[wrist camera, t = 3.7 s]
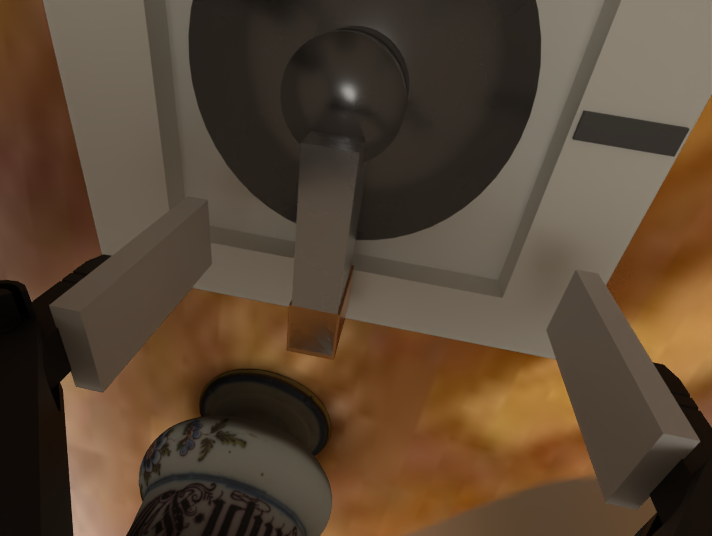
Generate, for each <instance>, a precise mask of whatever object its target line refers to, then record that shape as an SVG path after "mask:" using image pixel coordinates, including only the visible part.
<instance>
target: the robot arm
mask: <svg viewBox="0 0 712 536" xmlns="http://www.w3.org/2000/svg"><path fill="white" fill-rule="evenodd" d="M211 265H212V256H211V240H210V224H209V208H208V200H205V199H200V198H195V197H189V196H187V197H186V198H185V199H183V200H182V201H181V202H180V203H178V204H177V205H176V206H175V207H173V208H172V209H171V210H169V211H168V212H167V213H166V214H164V215H163V216H162V217H161V218H159V219H158V220H157V221H155V222H154V223H153V224H152V225H150V226H149V227H148V228H147V229H145V230H144V231H143V232H141V233H140V234H139V235H138V236H136V237H135V238H134V239H133V240H131V241H130V242H129V243H128V244H126V245H125V246H124V247H122V248H121V249H120V250H119V251H117V252H116V253H115V254H114V255H112V256H110V255H105V254H103V255H101V256H98V257H96V258H94V259H91V260H89V261H86V262H85V263H84V264H82V265H81V266H80V267H78V268H77V269H76V270H74V271H73V273H70V274H69V275H67V276H66V277H65V278H63V280H62V282H61V281H59V282H58V283H57V284H55V285H54V286H53V287H51V288H50V289H49V290H47V291H46V292H45V293H43V294H42V295H41V296H39V297H38V298H37V299H35V300H34V301H33V302H31V299H30V297H29V294H28V291H27V289H26V287H25V285H24V284H22V283H20V282H18V281H10V280H1V281H0V536H73V523H72V510H71V496H70V482H69V468H68V454H67V440H66V426H65V412H64V398H63V389H62V386H61V384H60V381H61V380H62V379H63V378H64V377H65V376H66V375H67V374H68V373H69V372H70V371H71V373H72V376H73V379H74V383H75V386H76V387H80V388H84V389H89V390H94V391H98V392H104V391H105V390H106V389H107V387H108V386H109V385H110V384H111V383H112V381H113V380H114V379H115V378H116V377H117V376H118V374H119V373H120V372H121V371H122V370H123V368H124V367H125V366H126V365H127V364H128V363H129V361H130V360H131V359H132V358H133V357H134V355H135V354H136V353H137V352H138V351H139V350H140V348H141V347H142V346H143V345H144V344H145V342H146V341H147V340H148V339H149V338H150V337H151V335H152V334H153V333H154V332H155V331H156V330H157V328H158V327H159V326H160V325H161V324H162V322H163V321H164V320H165V319H166V318H167V317H168V315H169V314H170V313H171V312H172V311H173V309H174V308H175V307H176V306H177V305H178V304H179V302H180V301H181V300H182V299H183V298H184V296H185V295H186V294H187V293H188V292H189V291H190V289H191V288H192V287H193V286H194V285H195V284H196V282H197V281H198V280H199V279H200V278H201V276H202V275H203V274H204V273H205V272H206V271H207V269H208V268H209V267H210V266H211ZM546 331H547V334H548V337H549V340H550V343H551V346H552V349H553V352H554V355H555V357H556V360H557V363H558V366H559V369H560V372H561V375H562V378H563V381H564V384H565V387H566V389H567V392H568V395H569V398H570V401H571V404H572V407H573V410H574V413H575V416H576V418H577V421H578V424H579V427H580V430H581V433H582V436H583V439H584V442H585V445H586V448H587V450H588V453H589V456H590V459H591V462H592V465H593V468H594V471H595V474H596V477H597V479H598V482H599V485H600V488H601V491H602V494H603V497H604V500H605V503H608V504H612V505H617V506H622V507H626V508H630V509H635V510H638V508H640V506H641V505H642V504H643V503H644V502H645V501H646V500H647V499H648V498H649V497H651V499H652V502H653V504H654V506H655V508H656V511H657V513H656V514H655V515H654V516H653V517H652V518H651V519H650V520H649V521H648V522H647V523H646V524H645V525H644V526H643V527H642V528H641V529H640V530H639V531H638V532H637V533H636V534H635V536H712V428H711V426H710V425H709V423H708V422H707V420H706V419H705V417H704V416H703V414H702V413H701V411H698V406H697V405H696V403H695V402H694V400H693V399H692V398H690V394H689V393H688V391H687V390H686V388H685V387H684V385H683V384H682V382H681V380H680V379H679V378H678V377H677V376H675V375H674V374H673V373H672V372H671V371H670V370H669V369H668V368H667V367H666V366H665V365H663V364H658V363H653V362H652V361H651V359H650V357H649V356H648V354H647V352H646V351H645V349H644V348H643V346H642V344H641V343H640V341H639V339H638V338H637V336H636V334H635V333H634V331H633V329H632V328H631V326H630V325H629V323H628V321H627V320H626V318H625V316H624V315H623V313H622V311H621V310H620V308H619V307H618V305H617V303H616V302H615V300H614V298H613V297H612V295H611V293H610V292H609V290H608V288H607V287H606V285H605V284H604V282H603V280H602V279H601V277H600V275H599V274H598V273H593V272H587V271H582V270H577V269H576V270H575V272H574V274H573V276H572V278H571V280H570V282H569V284H568V286H567V288H566V290H565V292H564V294H563V296H562V298H561V301H560V303H559V305H558V307H557V309H556V311H555V313H554V315H553V317H552V319H551V321H550V323H549V325H548V327H547V329H546Z"/></svg>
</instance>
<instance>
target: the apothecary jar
mask: <svg viewBox="0 0 712 536" xmlns="http://www.w3.org/2000/svg"><path fill="white" fill-rule="evenodd" d="M200 414H201V417H198V418H194V419H190V420H186V421H183V422H181V423H178V424H176V425H174V426H172V427H170V428H169V429H167V430H166V431H165V432H163V433H162V434H161V435H160V436H159V437H158V438H157V439H156V440H155V441H154V442H153V443H152V445H151V446H150V447H149V449H148V450H147V452H146V454H145V456H144V458H143V460H142V463H141V466H140V472H139V487H140V494H141V498H142V501H143V502H142V505H141V507H140V509H139V511H138V513H137V515H136V517H135V520H134V522H133V524H132V526H131V528H130V530H129V532H128V533H127V535H126V536H320V535H321V533H322V532H323V531H324V529H325V527H326V525H327V523H328V520H329V518H330V514H331V510H332V494H331V488H330V484H329V481H328V478H327V476H326V474H325V472H324V470H323V469H322V467H321V465H320V464H319V462H318V461H317V460H316V458H315V457H314V456H315V455H316V454H318V453H319V452H320V451H321V450H322V449H323V448H324V447H325V446H326V444H327V442H328V440H329V438H330V432H331V424H330V419H329V416H328V413H327V411H326V409H325V407H324V406H323V404H322V403H321V402H320V401H319V399H318V398H317V397H316V396H315V395H314V394H313V393H311V392H310V391H309V390H308V389H306V388H305V387H303V386H302V385H300V384H298V383H297V382H295V381H293V380H291V379H288V378H286V377H284V376H281V375H278V374H275V373H271V372H267V371H262V370H236V371H231V372H227V373H224V374H222V375H220V376H218V377H216V378H214V379H213V380H211V381H210V382H209V383H208V384H207V385H206V386H205V388H204V390H203V392H202V394H201V397H200Z"/></svg>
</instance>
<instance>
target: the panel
mask: <svg viewBox="0 0 712 536" xmlns="http://www.w3.org/2000/svg"><path fill="white" fill-rule="evenodd" d="M192 1H193V0H43V3H44V8H45V12H46V16H47V21H48V25H49V29H50V34H51V38H52V42H53V46H54V51H55V55H56V59H57V64H58V68H59V72H60V77H61V81H62V85H63V89H64V94H65V98H66V102H67V107H68V111H69V115H70V120H71V124H72V128H73V132H74V137H75V141H76V145H77V150H78V154H79V158H80V162H81V167H82V171H83V175H84V180H85V184H86V188H87V193H88V197H89V201H90V205H91V210H92V214H93V218H94V223H95V227H96V231H97V236H98V240H99V244H100V248H101V253H102V255H103V254H105V255H110V256H112V255H114V254H115V253H116V252H117V251H119V250H120V249H121V248H122V247H124V246H125V245H126V244H128V243H129V242H130V241H131V240H133V239H134V238H135V237H136V236H138V235H139V234H140V233H141V232H143V231H144V230H145V229H147V228H148V227H149V226H150V225H152V224H153V223H154V222H155V221H157V220H158V219H159V218H161V217H162V216H163V215H164V214H166V213H167V212H168V211H169V210H171V209H172V208H173V207H175V206H176V205H177V204H178V203H180V202H181V201H182V200H183V199H185V198H186V197H187V196H189V197H195V198H200V199H205V200H208V208H209V224H210V240H211V256H212V265H211V266H210V267H209V268H208V269H207V271H206V272H205V273H204V274H203V275H202V276H201V278H200V279H199V280H198V281H197V282H196V284H195V285H194V286H193V287H192V288H195V289H200V290H205V291H210V292H215V293H220V294H226V295H231V296H236V297H241V298H246V299H251V300H256V301H261V302H266V303H271V304H276V305H282V306H287V307H289V304H290V302H291V300H292V289H293V272H294V255H295V238H296V223H294V222H292V221H290V220H288V219H286V218H284V217H283V216H281V215H280V214H278V213H276V212H275V211H273V210H272V209H270V208H269V207H268V206H266V205H265V204H264V203H263V202H261V201H260V200H259V199H258V198H257V197H255V196H254V195H253V194H252V193H251V192H250V191H249V190H248V189H247V188H246V187H245V186H244V185H243V184H242V183H241V182H240V181H239V179H238V178H237V177H236V176H235V174H234V173H233V172H232V171H231V169H230V168H229V167H228V166H227V164H226V163H225V161H224V160H223V158H222V156H221V155H220V153H219V152H218V150H217V149H216V147H215V145H214V143H213V141H212V139H211V137H210V135H209V133H208V131H207V129H206V127H205V124H204V121H203V119H202V116H201V113H200V110H199V108H198V105H197V101H196V97H195V92H194V88H193V84H192V78H191V71H190V63H189V39H188V33H189V23H190V12H191V6H192ZM536 3H537V7H538V13H539V22H540V31H541V66H540V73H539V80H538V87H537V93H536V96H535V100H534V103H533V107H532V111H531V114H530V117H529V120H528V122H527V125H526V127H525V129H524V132H523V134H522V137H521V139H520V141H519V143H518V144H517V146H516V148H515V150H514V152H513V153H512V155H511V157H510V159H509V160H508V162H507V163H506V164H505V166H504V167H503V169H502V170H501V171H500V173H499V174H498V175H497V177H496V178H495V179H494V180H493V181H492V182H491V183H490V184H489V186H488V187H487V188H486V189H485V190H484V191H483V192H482V193H481V194H480V195H479V196H478V197H476V198H475V199H474V200H473V201H472V202H471V203H469V204H468V205H467V206H466V207H465V208H463V209H462V210H460V211H458V212H457V213H455V214H454V215H452V216H451V217H449V218H448V219H446V220H444V221H442V222H440V223H438V224H436V225H434V226H432V227H430V228H427V229H424V230H421V231H419V232H416V233H413V234H409V235H405V236H401V237H396V238H390V239H381V240H356V242H355V249H354V256H353V263H352V265H354V271H353V278H352V284H351V291H350V297H349V304H348V309H347V313H346V317H345V318H348V319H353V320H358V321H363V322H368V323H373V324H378V325H383V326H388V327H394V328H399V329H404V330H409V331H414V332H419V333H424V334H429V335H434V336H439V337H444V338H450V339H455V340H460V341H465V342H470V343H475V344H480V345H485V346H490V347H495V348H500V349H506V350H511V351H516V352H521V353H526V354H531V355H536V356H541V357H546V358H551V359H556V357H555V355H554V352H553V349H552V346H551V343H550V340H549V337H548V334H547V331H546V329H547V327H548V325H549V323H550V321H551V319H552V317H553V315H554V313H555V311H556V309H557V307H558V305H559V303H560V301H561V298H562V296H563V294H564V292H565V290H566V288H567V286H568V284H569V282H570V280H571V278H572V276H573V274H574V272H575V270H576V269H577V270H582V271H587V272H593V273H598V274H599V275H600V277H601V279H602V280H603V282H604V284H605V285H606V284H607V282H608V280H609V279H610V277H611V275H612V273H613V271H614V270H615V268H616V266H617V264H618V262H619V261H620V259H621V257H622V255H623V253H624V252H625V250H626V248H627V246H628V244H629V243H630V241H631V239H632V237H633V235H634V234H635V232H636V230H637V228H638V226H639V224H640V223H641V221H642V219H643V217H644V215H645V214H646V212H647V210H648V208H649V206H650V205H651V203H652V201H653V199H654V197H655V196H656V194H657V192H658V190H659V188H660V187H661V185H662V183H663V181H664V179H665V178H666V176H667V174H668V172H669V170H670V169H671V167H672V165H673V163H674V161H675V160H676V158H677V156H678V154H679V152H680V150H681V149H682V147H683V145H684V143H685V141H686V140H687V138H688V136H689V134H690V132H691V131H692V129H693V127H694V125H695V123H696V122H697V120H698V118H699V116H700V114H701V113H702V111H703V109H704V107H705V105H706V104H707V102H708V100H709V98H710V96H711V95H712V0H536Z"/></svg>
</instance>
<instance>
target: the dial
mask: <svg viewBox="0 0 712 536" xmlns="http://www.w3.org/2000/svg"><path fill="white" fill-rule="evenodd" d="M188 39H189V63H190V71H191V78H192V84H193V88H194V92H195V97H196V101H197V105H198V108H199V110H200V113H201V116H202V119H203V121H204V124H205V127H206V129H207V131H208V133H209V135H210V137H211V139H212V141H213V143H214V145H215V147H216V149H217V150H218V152H219V153H220V155H221V156H222V158H223V160H224V161H225V163H226V164H227V166H228V167H229V168H230V169H231V171H232V172H233V173H234V174H235V176H236V177H237V178H238V179H239V181H240V182H241V183H242V184H243V185H244V186H245V187H246V188H247V189H248V190H249V191H250V192H251V193H252V194H253V195H254V196H255V197H257V198H258V199H259V200H260V201H261V202H263V203H264V204H265V205H266V206H268V207H269V208H270V209H272V210H273V211H275V212H276V213H278V214H280V215H281V216H283V217H284V218H286V219H288V220H290V221H292V222H294V223H296V238H295V255H294V272H293V289H292V300H291V302H290V304H289V315H288V333H287V351H292V352H297V353H302V354H307V355H312V356H317V357H322V358H327V359H332V360H334V358H335V354H336V350H337V347H338V343H339V339H340V335H341V332H342V328H343V324H344V320H345V317H346V313H347V309H348V304H349V297H350V291H351V284H352V278H353V271H354V265H352V263H353V256H354V249H355V242H356V240H381V239H390V238H396V237H401V236H405V235H409V234H413V233H416V232H419V231H421V230H424V229H427V228H430V227H432V226H434V225H436V224H438V223H440V222H442V221H444V220H446V219H448V218H449V217H451V216H452V215H454V214H455V213H457V212H458V211H460V210H462V209H463V208H465V207H466V206H467V205H468V204H469V203H471V202H472V201H473V200H474V199H475V198H476V197H478V196H479V195H480V194H481V193H482V192H483V191H484V190H485V189H486V188H487V187H488V186H489V184H490V183H491V182H492V181H493V180H494V179H495V178H496V177H497V175H498V174H499V173H500V171H501V170H502V169H503V167H504V166H505V164H506V163H507V162H508V160H509V159H510V157H511V155H512V153H513V152H514V150H515V148H516V146H517V144H518V143H519V141H520V139H521V137H522V134H523V132H524V129H525V127H526V125H527V122H528V120H529V117H530V114H531V111H532V107H533V103H534V100H535V96H536V93H537V87H538V80H539V73H540V66H541V31H540V22H539V13H538V7H537V3H536V0H193V1H192V6H191V12H190V23H189V33H188Z"/></svg>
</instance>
